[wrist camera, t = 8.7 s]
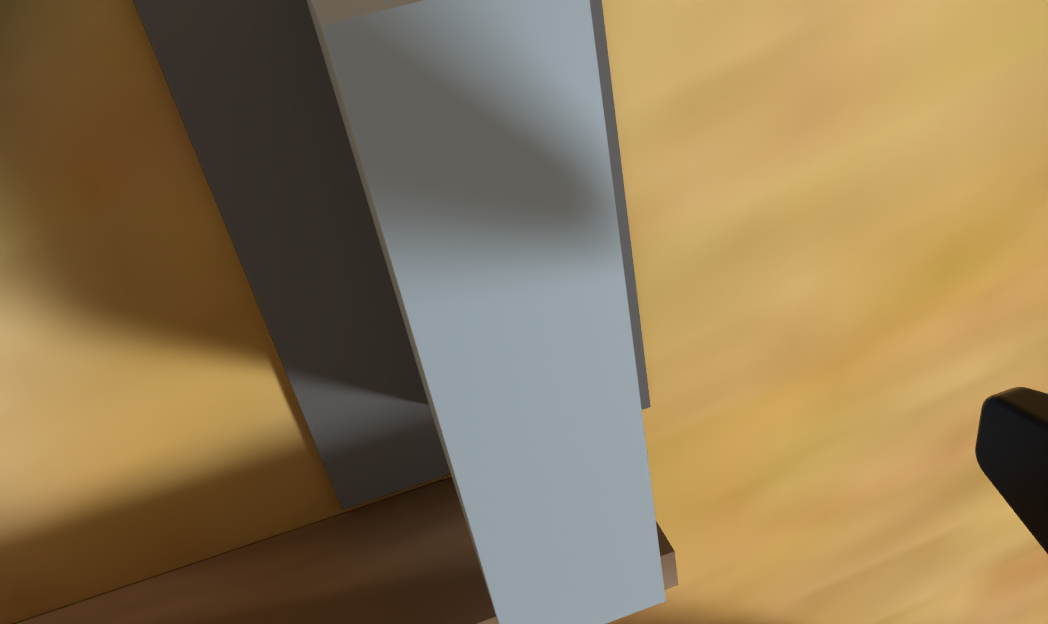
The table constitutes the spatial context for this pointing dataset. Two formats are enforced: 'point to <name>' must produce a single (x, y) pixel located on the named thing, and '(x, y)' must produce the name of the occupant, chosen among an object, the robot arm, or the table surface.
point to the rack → (328, 574)
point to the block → (509, 284)
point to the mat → (319, 229)
